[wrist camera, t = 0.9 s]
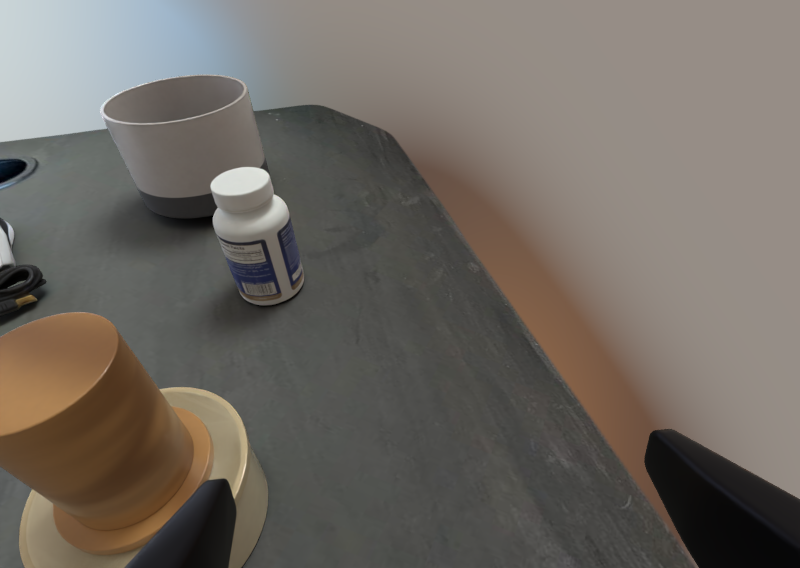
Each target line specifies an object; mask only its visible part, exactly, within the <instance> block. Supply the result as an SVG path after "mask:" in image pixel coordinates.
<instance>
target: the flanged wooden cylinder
mask: <svg viewBox="0 0 800 568" xmlns="http://www.w3.org/2000/svg"><path fill="white" fill-rule="evenodd" d="M213 460H214V446H213V441H212V438H211V435H210V433H209V431H208V429H207V427H206V426H205V424H204V423H203V422H202V421H201V419H200V418H199V417H197V416H196V415H195V414H193V413H192V412H190V411H188V410H185V409H183V408H179V407H174V406H170V404H169V403H168V401H167V400H166V398H165V397H164V396H163V394H162V393H161V391H160V390H159V388H158V387H157V386H156V384H155V383H154V381H153V380H152V379H151V377H150V376H149V374H148V373H147V371H146V370H145V369H144V367H143V366H142V364H141V363H140V362H139V360H138V359H137V357H136V356H135V354H134V353H133V352H132V350H131V349H130V347H129V346H128V344H127V343H126V342H125V340H124V339H123V337H122V336H121V335H120V333H119V332H118V330H117V329H116V327H115V326H114V325H113V324H112V323H111V322H110V321H109V320H108V319H106V318H104V317H102V316H99V315H96V314H92V313H83V312H73V313H64V314H58V315H53V316H49V317H45V318H42V319H39V320H36V321H33V322H30V323H28V324H25V325H23V326H21V327H18V328H16V329H14V330H12V331H10V332H8V333H7V334H5V335H3V336H1V337H0V467H2V468H3V469H4V470H6V471H7V472H9V473H10V474H12V475H13V476H14V477H16V478H17V479H19V480H20V481H22V482H23V483H24V484H26V485H27V486H29V487H30V488H32V489H33V490H34V491H36V492H37V493H39V494H40V495H42V496H43V497H44V498H46V499H47V500H49V501H50V502H52V503H53V518H54V523H55V526H56V528H57V530H58V532H59V534H60V535H61V536H62V538H63V539H64V540H66V541H67V542H68V543H69V544H71V545H72V546H74V547H75V548H77V549H79V550H81V551H83V552H86V553H90V554H95V555H113V554H119V553H124V552H127V551H130V550H134V549H136V548H139V547H141V546H143V545H146V544H147V543H148V541H149V540H150V539H151V538H152V537H153V536H154V535H155V534H156V533H157V532H158V531H159V530H160V529H161V528H162V527H163V525H164V524H165V523H166V522H167V521H168V520H169V519H170V518H171V517H172V516H173V515H174V514H175V513H176V512H177V510H178V509H179V508H180V507H181V506H182V505H183V504H184V503H185V502H186V501H187V500H188V499H189V498H190V497H191V495H192V494H193V493H194V492H195V491H196V490H197V489H198V488H199V487H200V486H201V485H202V484H203V483H204V482H205V481H207V480H208V479H209V477H210V473H211V470H212V466H213Z"/></svg>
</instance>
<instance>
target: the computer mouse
mask: <svg viewBox="0 0 800 568" xmlns="http://www.w3.org/2000/svg"><path fill="white" fill-rule="evenodd" d="M13 240H14V231H13V229H12V227H11V226H10V224H9V223H8V222H6V221H5V220H3V219H1V218H0V316H2V315H4V314H7V313H10V312H13V311H16V310H18V309H19V308H20V307H21V306H23V305H26V304H28V303H30V302H34V301H37V299H36V298H35V297H34V296H33V295H32V294H29V292H31V291H32V290H34V289H36V288H38V287H40V286H42V285H43V284H45V283H46V280H45V279H42V277H43V275H42V273H41V271H40V270H39V268H37V267H36V266H33V265H19V266H16V265H15V260H14V257H13V254H12V243H13ZM24 280H26V281H25V282H24V283H21V284H18V285H16V286H13V287H10V286H12V285H14V284H16V283H17V282H20V281H24ZM8 287H10V288H8Z"/></svg>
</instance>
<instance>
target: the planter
mask: <svg viewBox="0 0 800 568" xmlns="http://www.w3.org/2000/svg"><path fill="white" fill-rule="evenodd" d="M100 114H101V116H102V118H103V120H104V122H105V124H106V126H107V128H108V130H109V132H110V134H111V136H112V138H113V140H114V142H115V144H116V146H117V148H118V151H119V153H120V155H121V157H122V159H123V161H124V163H125V165H126V167H127V169H128V171H129V173H130V175H131V177H132V179H133V181H134V183H135V185H136V187H137V189H138V191H139V193H140V195H141V197H142V199H143V201H144V203H145V205H146V206H147V207H148V208H149V209H150V210H151V211H153V212H154V213H157V214H159V215H162V216H166V217H171V218H183V219H187V218H201V217H208V216H213V215H214V213H215V211H216V209H217V208H218V207H217V205H216V203H215V200H214V197H213V194H212V191H211V187H210V185H211V182H212V181H213V180H214V179H215V178H216V177H217V176H219V175H220V174H222V173H224V172H226V171H229V170H232V169H236V168H241V167H256V168H260V169H263V170H265V171H266V172H267V173H268V174H269V170H268V166H267V162H266V158H265V154H264V150H263V146H262V143H261V139H260V135H259V131H258V127H257V123H256V119H255V115H254V112H253V108H252V104H251V100H250V96H249V92H248V89H247V86H246V84H245V83H244V82H242V81H240V80H239V79H236V78H233V77H228V76H221V75H190V76H179V77H172V78H167V79H161V80H157V81H152V82H148V83H145V84H141V85H138V86H135V87H132V88H129V89H127V90H125V91H122V92H120V93H118V94H116V95H114V96H113V97H111V98H110V99H108V100H107V101H106V102H105V103H104V104H103V105H102V107H101V108H100ZM269 176H270V174H269Z"/></svg>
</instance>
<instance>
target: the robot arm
mask: <svg viewBox="0 0 800 568" xmlns="http://www.w3.org/2000/svg"><path fill="white" fill-rule="evenodd" d="M645 467H646V469H647V472H648V474H649V476H650V478H651V480H652V482H653V484H654V486H655V488H656V490H657V492H658V494H659V496H660V498H661V500H662V501H663V504H664V505H665V508H666V510H667V512H668V514H669V516H670V517H671V519H672V522H673V523H674V526H675V527H676V529H677V531H678V533H679V535H680V537H681V539H682V541H683V542H684V544H685V546H686V547H687V549H688V551H689V552H690V554H691V556H692V557H693V559H694V561H695V562H696V564H697V565H698V567H699V568H800V499H798V498H797V497H795V496H793V495H791V494H789V493H787V492H786V491H784V490H782V489H780V488H779V487H777V486H775V485H773V484H771V483H769V482H768V481H766V480H764V479H762V478H760V477H758V476H757V475H755V474H753V473H751V472H749V471H748V470H746V469H744V468H742V467H740V466H738V465H737V464H735V463H733V462H731V461H730V460H728V459H726V458H724V457H722V456H720V455H719V454H717V453H715V452H713V451H711V450H709V449H708V448H706V447H704V446H702V445H701V444H699V443H697V442H695V441H693V440H691V439H690V438H688V437H686V436H684V435H682V434H681V433H679V432H677V431H675V430H672V429H664V430H655V431H653V432H652V433H651V434H650V436H649V441H648V445H647V449H646V454H645ZM236 515H237V509H236V504H235V501H234V497H233V494H232V491H231V488H230V484H229V482H228V480H227V479H224V478H222V479H213V480H207V481H205V482H204V483H203V484H202V485H201V486H200V487H199V488H198V489H197V490H196V491H195V492H194V493H193V494H192V495H191V497H190V498H189V499H188V500H187V501H186V502H185V503H184V504H183V505H182V506H181V507H180V508H179V509H178V510H177V512H176V513H175V514H174V515H173V516H172V517H171V518H170V519H169V520H168V521H167V522H166V523H165V524H164V525H163V527H162V528H161V529H160V530H159V531H158V532H157V533H156V534H155V535H154V536H153V537H152V538H151V539H150V540H149V541H148V543H147V544H146V545H145V546H144V547H143V548H142V549H141V550H140V551H139V552H138V553H137V554H136V555H135V556H134V558H133V559H132V560H131V561H130V562H129V563H128V564H127V565H126V566H125V567H124V568H228V567H229V561H230V554H231V548H232V542H233V535H234V529H235V523H236Z"/></svg>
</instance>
